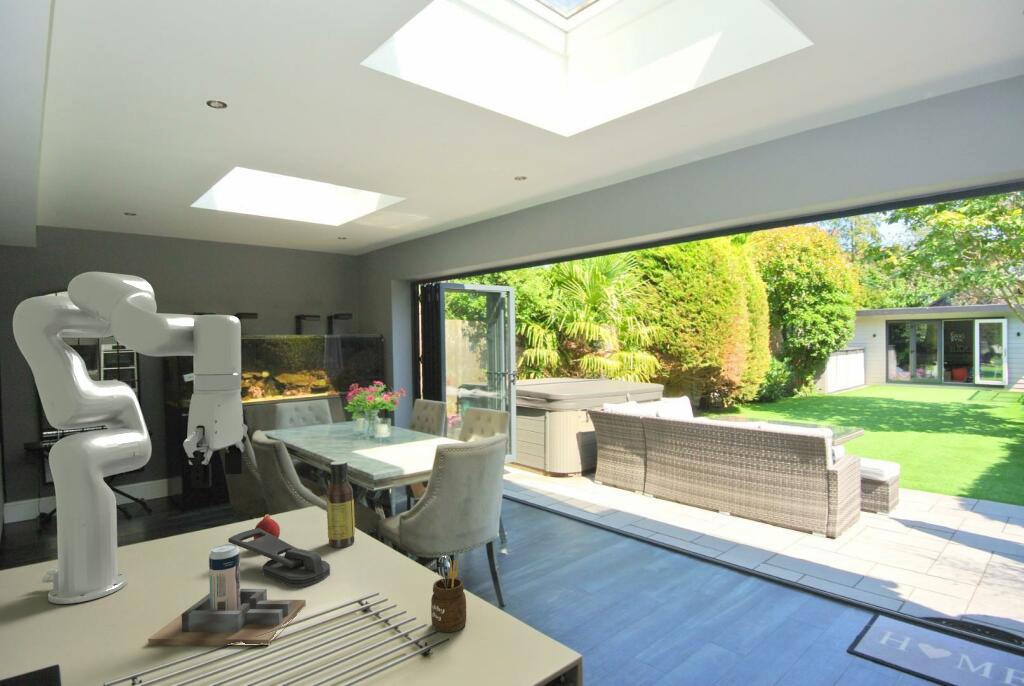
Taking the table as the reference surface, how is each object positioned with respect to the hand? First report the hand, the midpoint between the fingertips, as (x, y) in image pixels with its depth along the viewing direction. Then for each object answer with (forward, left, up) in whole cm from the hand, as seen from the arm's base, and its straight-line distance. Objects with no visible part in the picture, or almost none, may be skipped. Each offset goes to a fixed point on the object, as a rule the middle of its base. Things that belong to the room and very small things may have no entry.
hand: (218, 480), depth 100 cm
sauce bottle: (+8, +37, -25) cm, 45 cm away
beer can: (+2, -2, -24) cm, 24 cm away
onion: (-9, +34, -25) cm, 43 cm away
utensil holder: (+41, -2, -25) cm, 48 cm away
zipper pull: (+1, +21, -25) cm, 32 cm away
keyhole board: (+3, -2, -24) cm, 25 cm away
